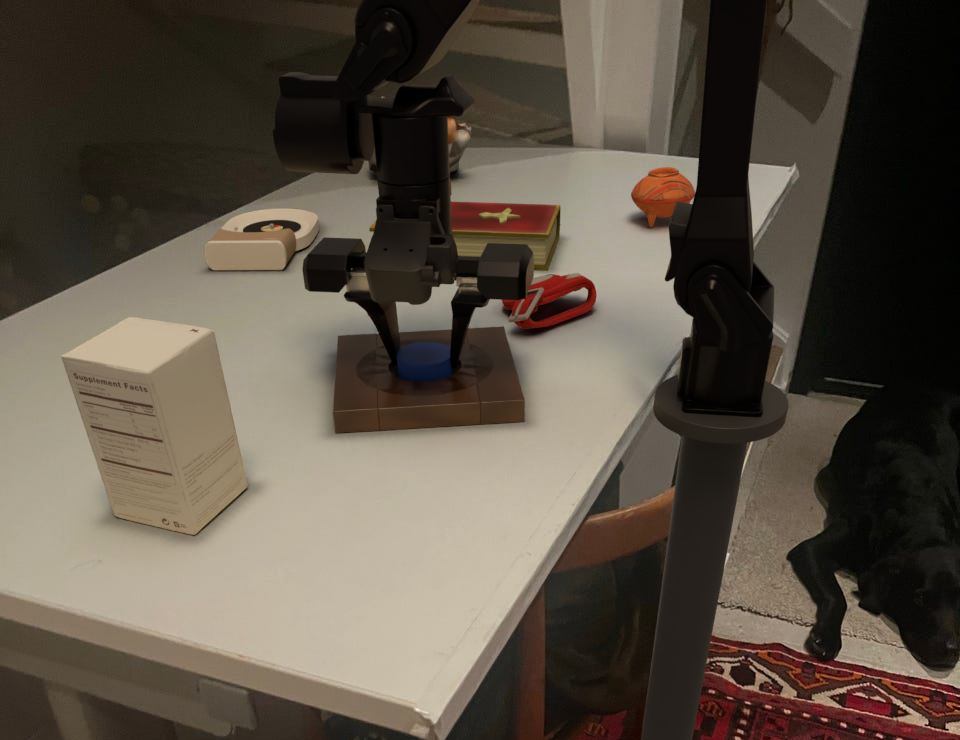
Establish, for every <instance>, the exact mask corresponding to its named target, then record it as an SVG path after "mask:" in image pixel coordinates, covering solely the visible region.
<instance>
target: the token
mask: <svg viewBox="0 0 960 740" xmlns="http://www.w3.org/2000/svg"><path fill="white" fill-rule="evenodd" d="M397 366H398V378H400V379H403V380H408V381H416V382H426V381H437V380H441V379H445V378H448V377H450V376H452V375H454V369H452V368H451V360H450V347H448V346H446V345H444V344H440V343H434V342H421V343H414V344H410V345H407V346H405V347H403V348H401V349H400V350H399V351H398V353H397Z"/></svg>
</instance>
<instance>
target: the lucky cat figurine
mask: <svg viewBox="0 0 960 740" xmlns="http://www.w3.org/2000/svg"><path fill="white" fill-rule="evenodd" d="M380 98H386V97H385V96H383V95H382V96H381V97H380ZM455 117H456V116H447V119H448V145H449V171H450V173H457V172H458V171H459V169H460V160H461V158H462V157H463V155H464V153H465V151H466V149H467V148H468V144H469V142H470V140H471V138H472V126H469V127H468V125H467V123H466V122H463V123H458V121H457V119H456V118H455ZM367 162H368V169H369V171H371V172H372V173H377V168H376V156H375V149H374V153H373V156H372V158H371V159H370V160H369V161H367Z"/></svg>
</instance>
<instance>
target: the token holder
mask: <svg viewBox="0 0 960 740" xmlns="http://www.w3.org/2000/svg"><path fill="white" fill-rule="evenodd" d="M451 331H452V328H450V329H434V330H433V329H432V330H415V331H399V335H400V349H401V348H403V347H405V346H407V345H410V344H414V343H421V342H434V343H440V344H444V345H446V346H448V347H451ZM336 342H337V343H336V358H335V372H334V387H333V399H332V400H333V402H332V417H333V424H334V425H333V426H334V432H335V433H336V434H343V433H358V432H374V431H375V432H377V431H390V430H391V431H392V430H409V429H424V428H426V429H427V428H439V427H440V428H441V427H456V426H472V425H474V426H475V425H491V424H492V425H493V424H505V423H506V424H507V423H508V424H509V423H525V418H526V417H525V415H526V410H525V409H526V399H525V396H524V392H523V389H522V386H521V382H520V379H519V375H518V372H517V368H516V365H515V361H514V357H513V354H512V350H511V347H510V344H509V340H508V337H507V333H506V329H505V327H504V326H486V327H469V328H468V331H467V334H466V338H465V341H464V345H463V348H462V351H461V355H460V358H459V362H458V365H457V367H456V369H454V375H452V376H450V377H448V378H445V379H441V380H437V381H426V382H416V381H408V380H403V379H400V378H398V366H394V365H393V363H392V361H391V359H390V357H389V355H388V353H387V350H386V348H385V346H384V344H383V342H382V340H381V338H380V335H379V333H378V332H377V333H361V334H345V335H344V334H343V335H338V336H337V341H336Z"/></svg>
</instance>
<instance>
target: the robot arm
mask: <svg viewBox="0 0 960 740" xmlns="http://www.w3.org/2000/svg"><path fill="white" fill-rule="evenodd" d="M480 1H481V0H361V3H360V4H359V6H358V7H357V8H356V12H355V16H354V20H353V22H354V37H355V38H354V39H355V43H354V44H353V47H352V49H351V51H350V53H349V55H348V57H347V59H346V60H345V62H344V64H343V66H342V68H341V70H340V72H339V74H338V75H314V74H310V73H307V72H301V71H289V72H287V73H284V74H283V75H280V76H279V78H278V85H279V92H280V95H279V97H278V99H277V102H276V106H275V113H274V127H273V129H272V137H273V138H272V139H273V144H274V148H275V152H276V155H277V158H278V161H279V162H280V165H281V166H282V167H283V169H284V170H285V171H287V172H294V173H295V172H296V173H313V174H315V173H316V174H335V175H336V174H338V175H357V174H359V173H360V172H361V170H362V168H363V166H364V162H368V161H369V160H370V159H371V158H372V156H373V153H374V149H375V156H376V168H377V172H376V178H377V179H376V181H377V191H378V196H377V198H376V199H375V205H376V208H375V215H376V218H375V221H376V224H375V229H374V232H372V235H371V237H370V242H369V245H368V248H367V251H366V245H365V243H364V241H363V239H362V238H353V237H352V238H351V237H327V236H326V237H322V239H321V240H320V241H319V242H318V243H317V244H316V245H315V246H314V247H313V248H312V249H311V250H310V251H309V252H308V253H307V255H306V256H305V257H304V259H303V261H302V276H303V277H302V278H303V283H304V284H303V285H304V289H305V290H306V291H308V292H312V293H313V292H314V293H317V292H318V293H335V294H336V293H339V294H340V292H341V291H342V290H343V289H344V287H345V289H346V291H345V292H344V294H343V298H344V299H345V301H346V302H348V303H354V304H357V305H358V306H359V307H360V308H362V309H363V310H364V311H365V312H366V314H367V315H368V317H369V319H370V320H371V322H372V324H373V325H374V327H375V329H376V331H377V334H378V333H379V335H380V338H381V340H382V342H383V344H384V346H385V348H386V350H387V353H388V355H389V357H390V359H391V361H392V363H393V365H394V366H397V353H398V351H399V350H400V335H399V332H400V327H399V319H398V310H397V303H408V304H410V305H413V306H420V305H423V304H425V303H427V302H428V301H429V300H430V299H431V296H432V293H433V288H440V287H441V285H453V284H454V283H455V282H456V287H458V288H457V290H456V291H455V293H454V296H453V297H452V299H451V301H450V306H451V313H452V315H451V316H452V317H451V318H452V319H451V329H452V331H451V347H450V360H451V368H452V369H456V367H457V365H458V362H459V358H460V355H461V351H462V348H463V345H464V341H465V338H466V334H467V331H468V328H470V324H471V321H472V318H473V316H474V312H475V310H476V308H478V309H479V308H481V309H482V308H485V307H487V306H488V305H489V303H490V300H499V301H500V300H501V301H502V300H521V299H524V298H526V296H527V293H528V291H529V288H530V285H531V282H532V280H533V278H535V277H534V275H535V274H534V273H535V270H534V254H533V251H532V250H531V249H530V248H529V246H528V245H527V244H502V243H487V245H486V247H485V249H484V251H483V253H482V255H481V257H477V256H458V253H457V246H456V243H455V240H454V237H453V234H452V220H451V202H452V195H453V194H452V181H451V175H450V174H451V172H450V171H449V145H448V119H447V116H454V117H463V115H465V113H467V112H468V111H469V110H470V109H471V108H473V107H474V105H475V98H474V97H473V96H472V95H471V94H470V93H468V91H466V89H464V88H463V87H462V86H461V84H460V83H459V82H458V81H457V79H456V77H455V75H454V74H453V73H448V74H445V76H443V77H442V78H440V81H439V82H438V84H437V85H409V84H407V85H406V84H403V83H407V82H410V81H411V80H413V79H415V78H416V77H418V76H419V75H421V74H423V73H424V72H426V71H428V70H429V69H431V68H432V67H434V66H436V65H437V64H439V63H440V62H441V61H442V60H443V59H444V58H445V56H447V53H448V52H449V50H450V49H451V48H452V46H453V45H454V43H455V42H456V40H457V38H458V37H459V35H460V34H461V32H462V31H463V30H464V28H465V27H466V25H467V24H468V22H469V21H470V20H471V17H472V15H473V14H474V12H475V10H476V8H477V7H478V4H479V3H480ZM767 1H768V0H710V3H709V15H708V17H709V18H708V29H707V30H708V31H707V41H706V42H707V44H706V56H705V68H704V69H705V70H704V81H703V82H704V84H703V97H702V110H701V122H700V123H701V124H700V137H699V151H698V165H697V178H696V188H695V196H694V198H693V199H692V203H690V204H688V203H683V202H676V204H675V207H674V210H673V214H672V216H670V220H669V223H668V236H669V237H668V238H669V244H670V245H669V247H670V258H669V261H668V266H667V269H666V271H665V272H666V273H665V276H664V281H665V282H666V283H667V282H670V281H672V280H673V285H672V287H673V297H674V299H675V302H676V304H677V305H678V306H679V307H680V308H681V310H683V311H684V313H686V315H688V316H689V317H692V320H691V329H690V335H689V336H685V337H683V339H682V341H681V350H680V355H679V356H680V357H679V366H678V373H677V375H678V380H677V395H678V396H679V397H682V412H684V413H691V414H708V415H725V416H742V417H761V416H762V415H763V404H762V394H763V389H764V384H765V381H766V378H767V372H768V367H769V362H770V357H771V353H772V352H771V351H772V347H773V346H772V345H773V341H774V331H773V329H774V316H775V315H774V312H775V285H774V284H773V283H772V282H771V281H770V279H769V278H768V277H767V275H766V274H765V273H764V271H762V269H761V268H760V266H758V264H757V263H756V262H755V261H754V260H755V247H754V246H755V245H754V232H753V231H754V230H753V214H752V213H753V212H752V203H751V192H750V179H749V178H750V177H749V171H750V162H751V154H752V153H751V151H752V142H753V133H754V125H755V114H756V107H757V106H756V105H757V96H758V87H759V86H758V85H759V78H760V69H761V60H762V59H761V58H762V49H763V41H764V31H765V21H766V13H767V12H766V11H767V5H768V4H767ZM389 83H397V84H402V85H401V86H400V87H399V88H398V89H397V91H396V92H395V95H394V97H385V98H381V97H368V96H369V95H370V94H372V93H374V92H376V91H377V90H379V89H381V88H382V87H384V86H385V85H387V84H389Z"/></svg>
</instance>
